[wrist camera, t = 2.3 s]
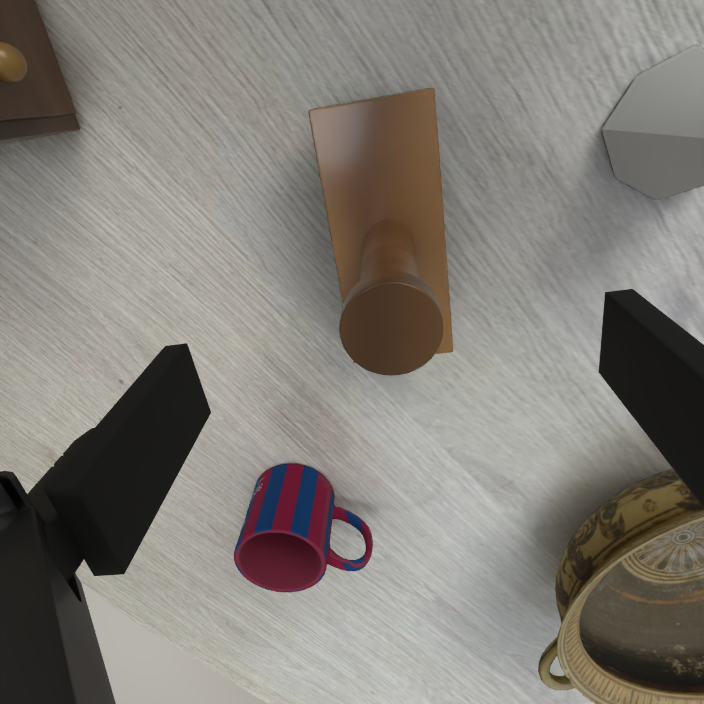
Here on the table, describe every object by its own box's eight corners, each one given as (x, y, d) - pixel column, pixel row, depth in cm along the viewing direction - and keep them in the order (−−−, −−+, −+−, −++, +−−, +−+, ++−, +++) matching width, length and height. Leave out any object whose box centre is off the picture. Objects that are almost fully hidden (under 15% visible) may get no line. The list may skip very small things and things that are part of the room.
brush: (426, 87, 27) (470, 88, 13) (445, 320, 33) (486, 478, 20) (318, 107, 28) (257, 125, 14) (357, 331, 34) (340, 489, 21)
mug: (264, 453, 40) (242, 519, 34) (382, 485, 40) (382, 554, 34) (248, 511, 43) (226, 580, 37) (359, 539, 44) (355, 611, 38)
